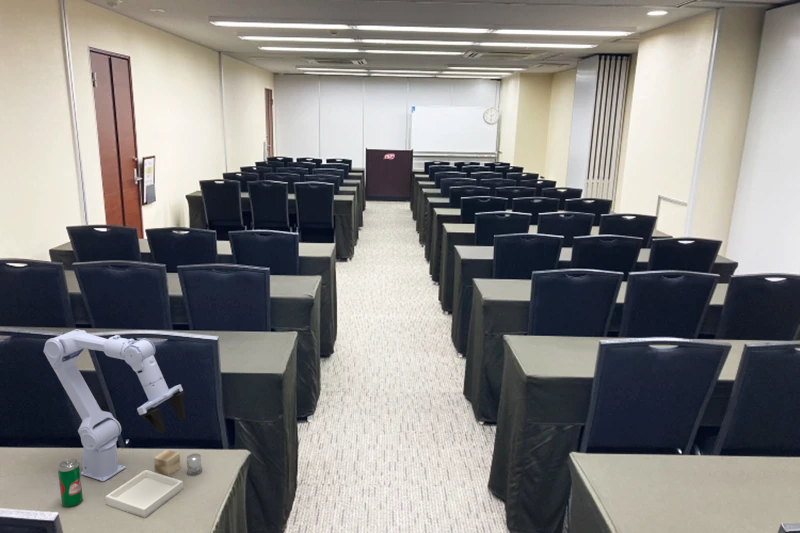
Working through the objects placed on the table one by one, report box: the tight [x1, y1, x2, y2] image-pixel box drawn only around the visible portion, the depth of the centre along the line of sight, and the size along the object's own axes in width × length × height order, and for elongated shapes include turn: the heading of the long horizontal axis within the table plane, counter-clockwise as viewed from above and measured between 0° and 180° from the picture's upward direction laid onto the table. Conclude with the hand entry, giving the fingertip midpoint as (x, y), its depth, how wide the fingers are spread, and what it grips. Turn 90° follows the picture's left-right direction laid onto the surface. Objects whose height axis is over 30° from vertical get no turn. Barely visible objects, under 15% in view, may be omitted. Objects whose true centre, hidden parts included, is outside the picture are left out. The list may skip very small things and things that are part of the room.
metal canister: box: [186, 453, 202, 477], centre depth 169 cm, size 4×4×5 cm
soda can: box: [57, 458, 84, 508], centre depth 152 cm, size 5×5×12 cm
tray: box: [104, 469, 184, 519], centre depth 157 cm, size 14×14×2 cm
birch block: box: [153, 449, 181, 477], centre depth 169 cm, size 5×5×5 cm
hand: (172, 425), depth 157 cm, fingers open, 7 cm apart
